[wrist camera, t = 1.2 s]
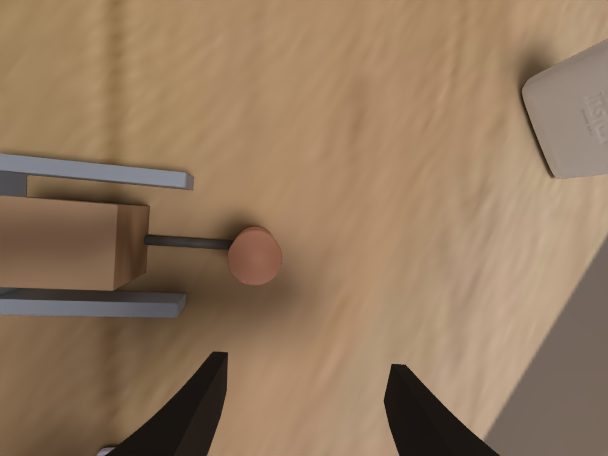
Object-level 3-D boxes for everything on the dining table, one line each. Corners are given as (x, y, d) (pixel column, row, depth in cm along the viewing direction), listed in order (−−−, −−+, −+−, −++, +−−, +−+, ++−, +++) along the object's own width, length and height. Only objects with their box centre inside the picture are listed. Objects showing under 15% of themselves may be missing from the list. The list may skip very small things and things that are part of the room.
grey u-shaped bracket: (185, 305, 22) (176, 317, 20) (5, 301, 20) (-30, 314, 17) (193, 177, 22) (185, 172, 19) (10, 158, 19) (-25, 150, 17)
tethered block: (272, 277, 23) (278, 300, 17) (56, 268, 20) (-26, 291, 14) (277, 216, 23) (285, 218, 17) (59, 198, 20) (-23, 194, 14)
